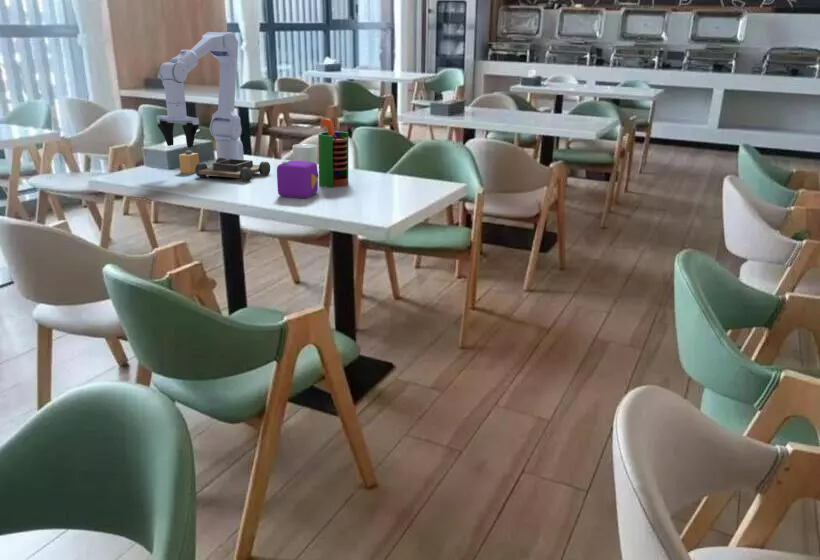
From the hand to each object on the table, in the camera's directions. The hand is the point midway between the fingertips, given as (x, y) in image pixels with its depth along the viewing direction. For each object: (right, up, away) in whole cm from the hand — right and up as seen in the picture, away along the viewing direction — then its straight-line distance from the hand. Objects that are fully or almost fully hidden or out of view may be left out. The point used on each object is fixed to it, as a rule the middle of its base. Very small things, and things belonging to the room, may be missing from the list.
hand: (180, 146), depth 217 cm
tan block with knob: (0, -7, +10) cm, 12 cm away
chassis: (+16, -9, +5) cm, 19 cm away
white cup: (+39, -9, +7) cm, 41 cm away
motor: (+50, -13, -4) cm, 51 cm away
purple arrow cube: (+41, -18, -18) cm, 48 cm away
